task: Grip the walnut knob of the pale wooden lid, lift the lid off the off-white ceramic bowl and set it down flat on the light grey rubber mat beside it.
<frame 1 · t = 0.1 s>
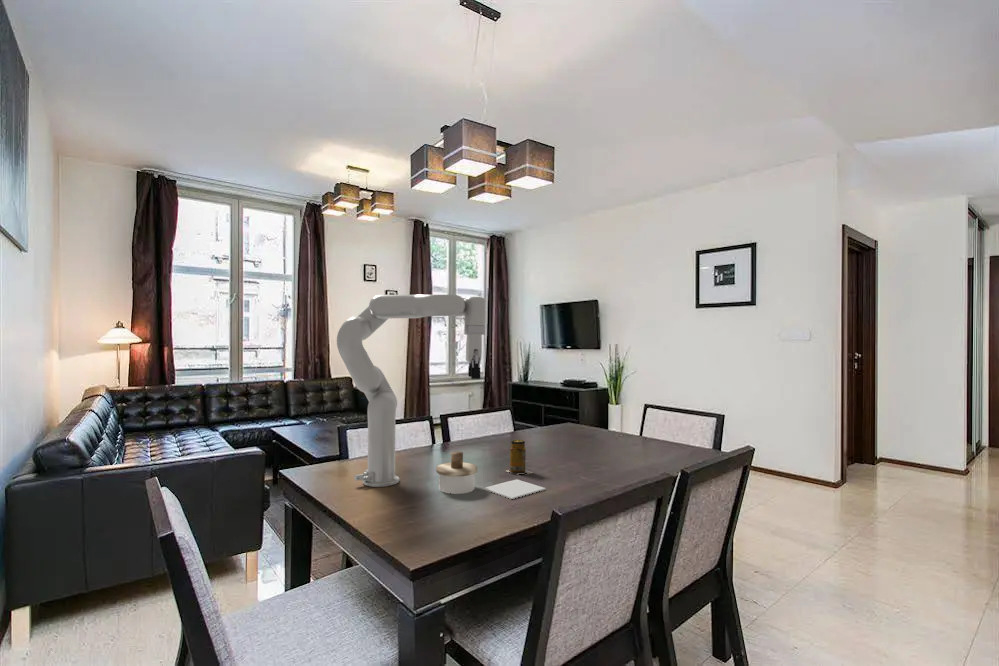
hand: (474, 377, 183), 37 cm above the table, tool pointing down, fingers open, 9 cm apart
mat: (514, 489, 171), on the table
condiment: (518, 472, 194), on the table
bowl: (456, 488, 172), on the table
lid: (456, 470, 172), point 6 cm above the table, touching bowl
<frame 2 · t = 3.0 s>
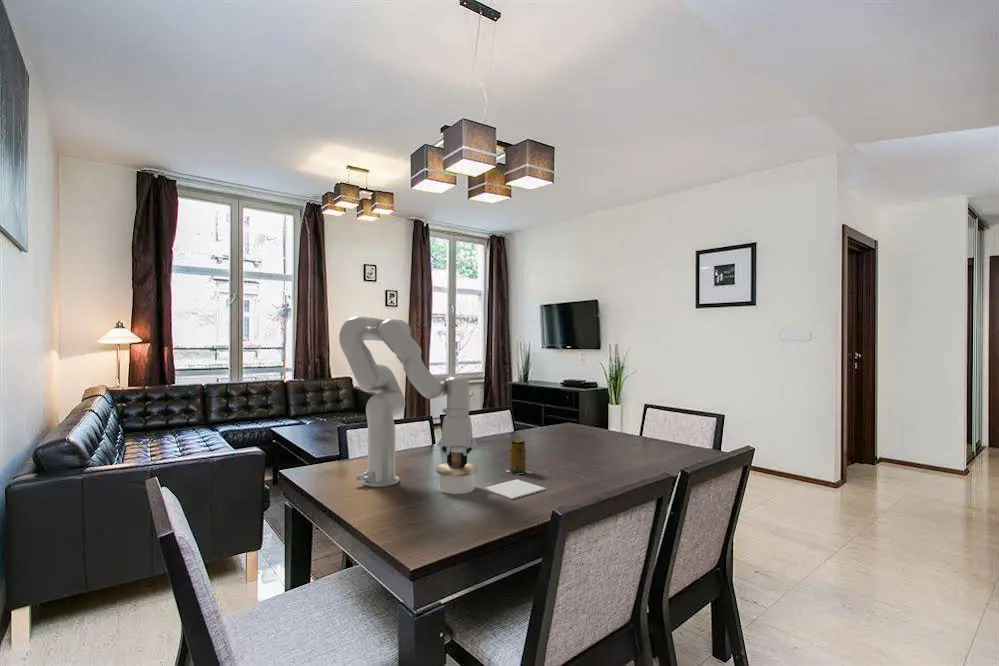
hand: (457, 465, 172), 8 cm above the table, tool pointing down, fingers closed on lid, 4 cm apart
lid: (456, 470, 172), point 6 cm above the table, touching bowl, gripper
everything else where it was.
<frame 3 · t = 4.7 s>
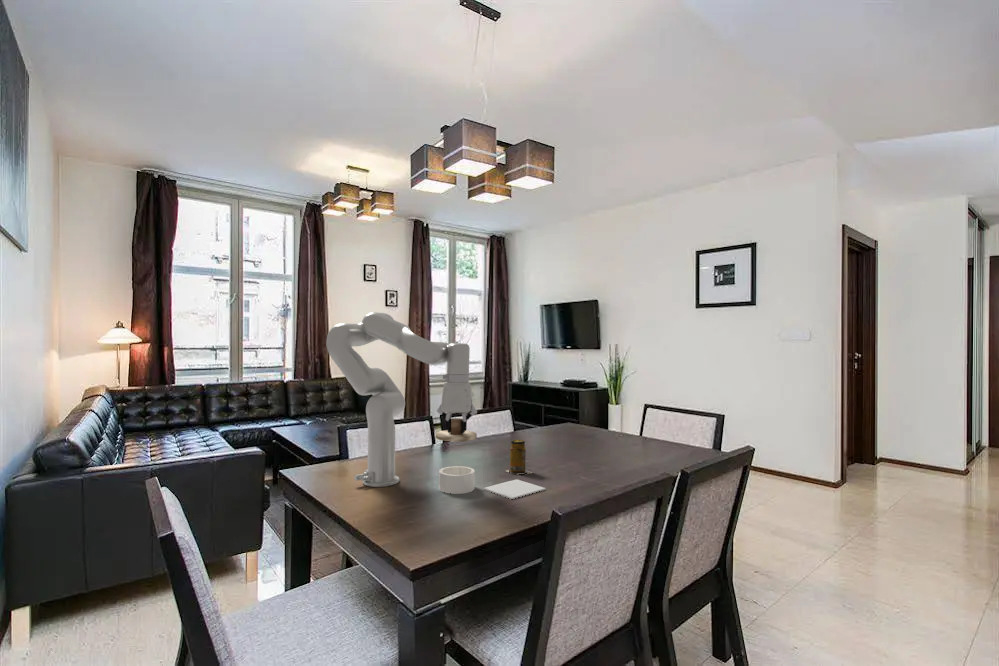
hand: (456, 431, 172), 19 cm above the table, tool pointing down, fingers closed on lid, 4 cm apart
lid: (456, 437, 172), point 18 cm above the table, touching gripper
everything else where it was.
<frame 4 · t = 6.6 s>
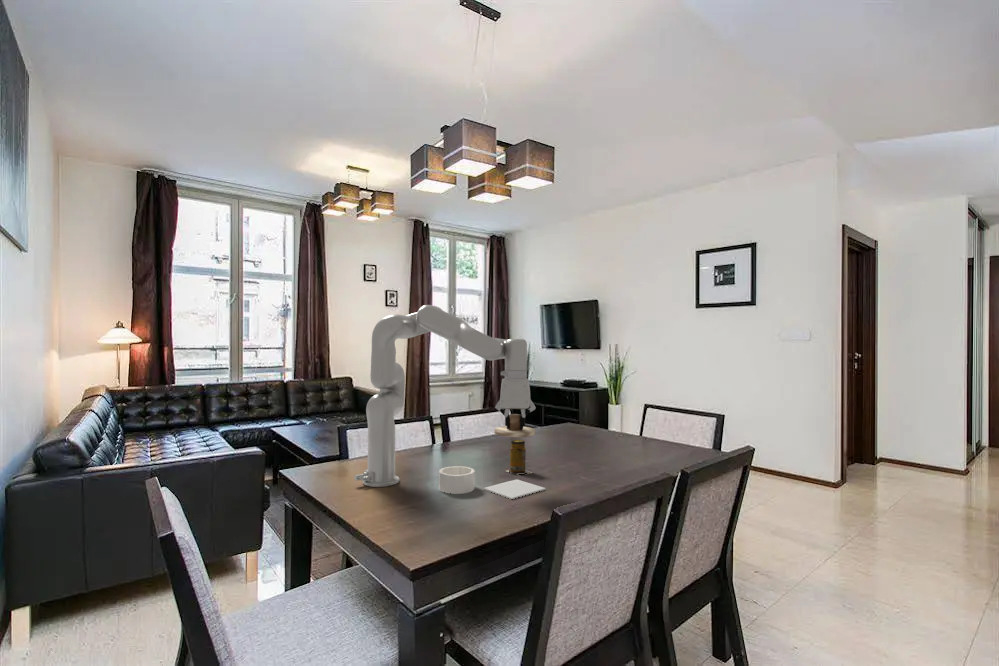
hand: (515, 428, 171), 21 cm above the table, tool pointing down, fingers closed on lid, 4 cm apart
lid: (515, 433, 171), point 19 cm above the table, touching gripper
everything else where it was.
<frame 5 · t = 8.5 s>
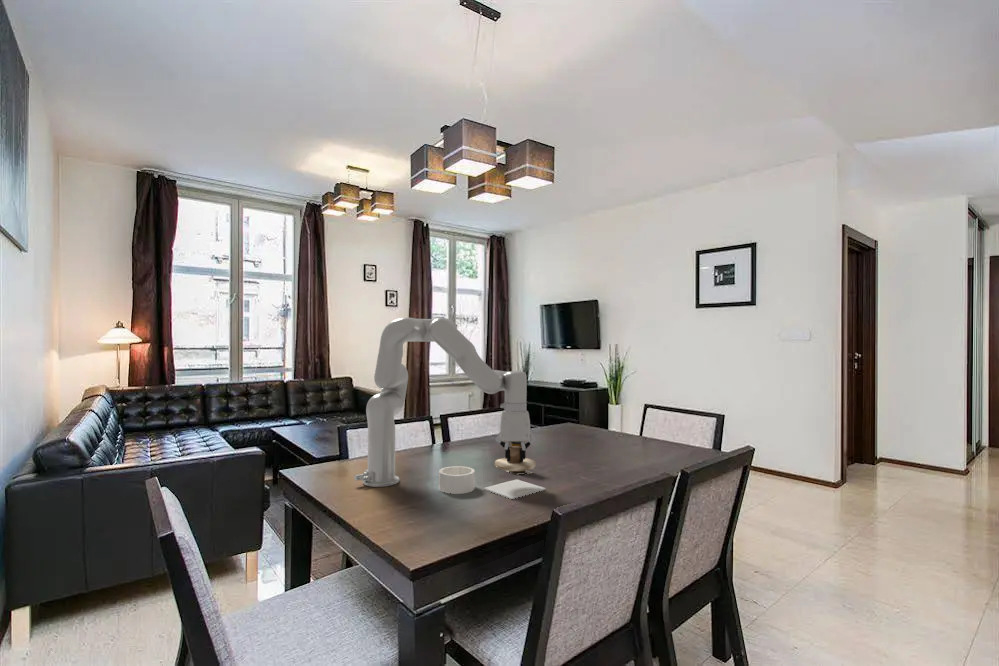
hand: (515, 460, 171), 10 cm above the table, tool pointing down, fingers closed on lid, 4 cm apart
lid: (515, 465, 171), point 8 cm above the table, touching gripper
everything else where it was.
when the fingers open (4 cm above the table, at t = 10.0 s): lid drops 2 cm, resting on mat.
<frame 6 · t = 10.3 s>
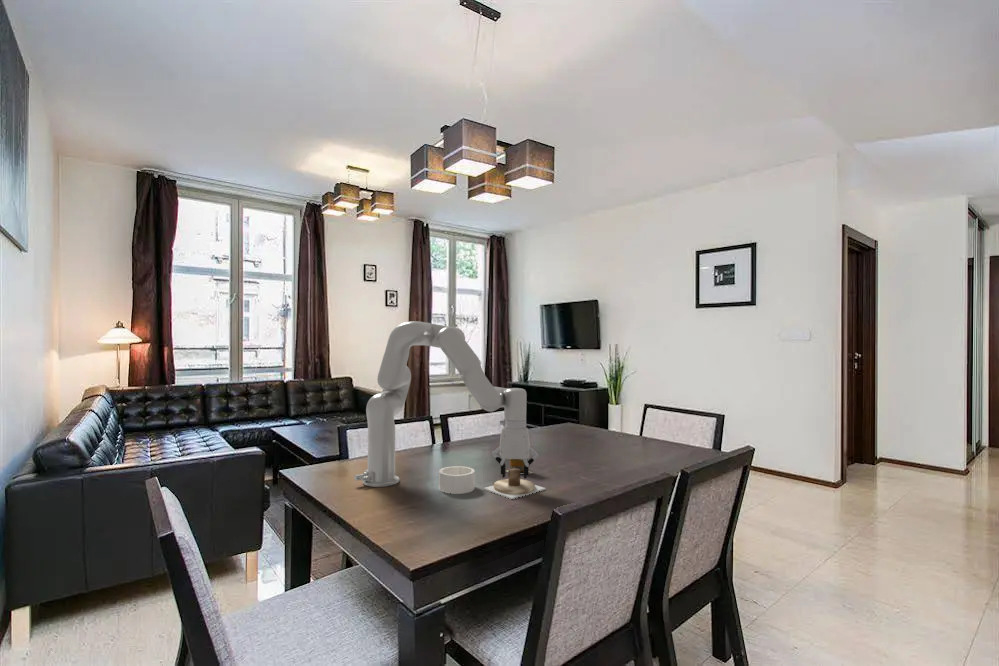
hand: (514, 476, 171), 4 cm above the table, tool pointing down, fingers open, 6 cm apart
lid: (514, 488, 171), point 1 cm above the table, touching mat
everything else where it was.
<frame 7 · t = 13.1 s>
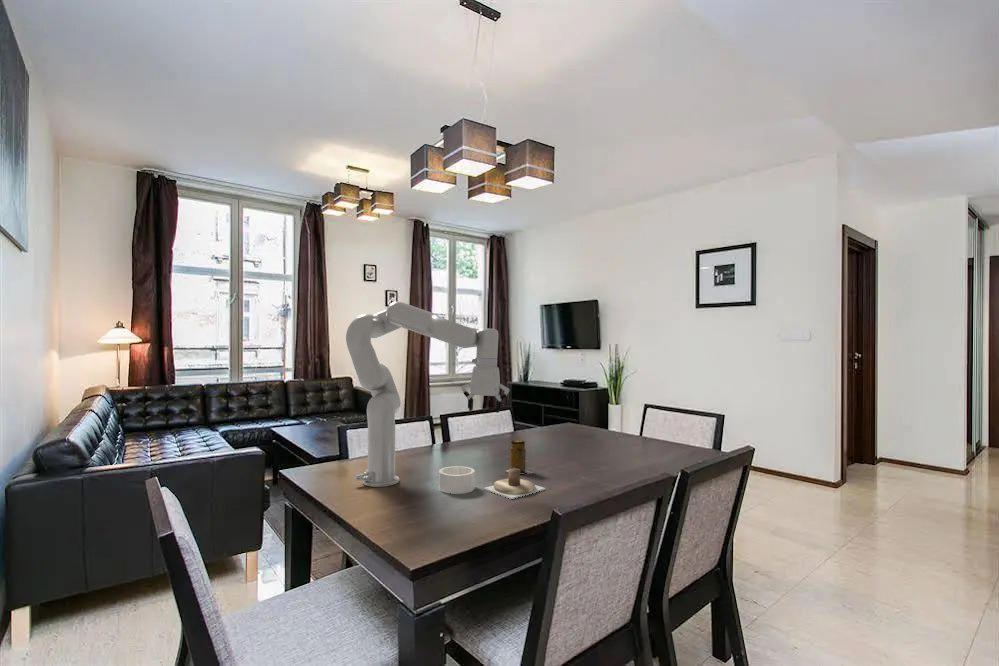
hand: (484, 411, 178), 26 cm above the table, tool pointing down, fingers open, 9 cm apart
nothing on the table moved.
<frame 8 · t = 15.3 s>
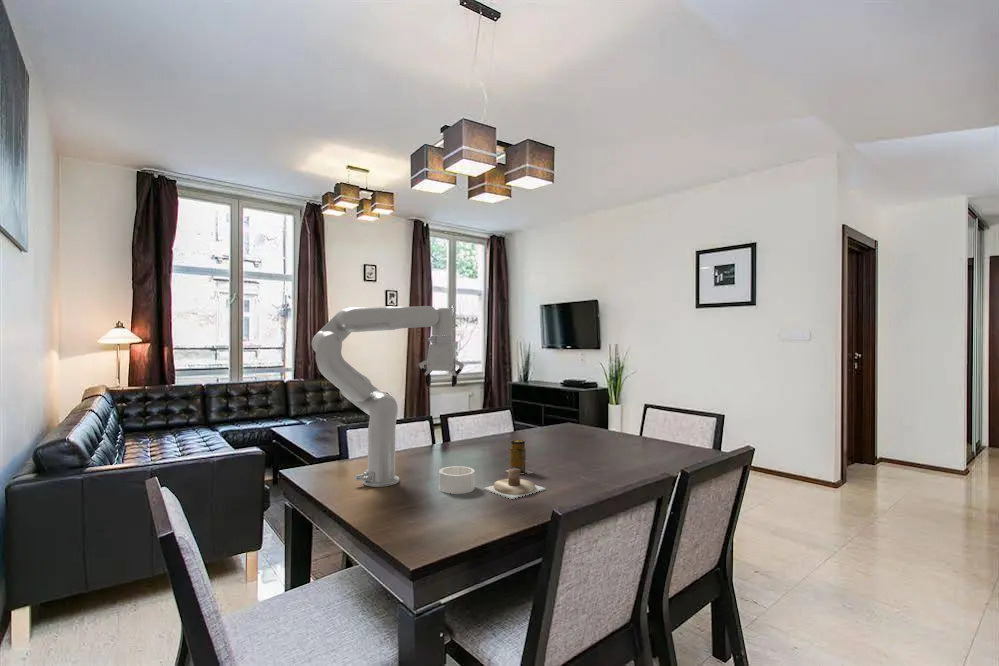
hand: (441, 385, 189), 33 cm above the table, tool pointing down, fingers open, 9 cm apart
nothing on the table moved.
at the end: lid inside the target area on the mat (0.1 cm from its centre), point 0.6 cm above the mat's base; lid touching mat; lid tilted 0° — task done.
